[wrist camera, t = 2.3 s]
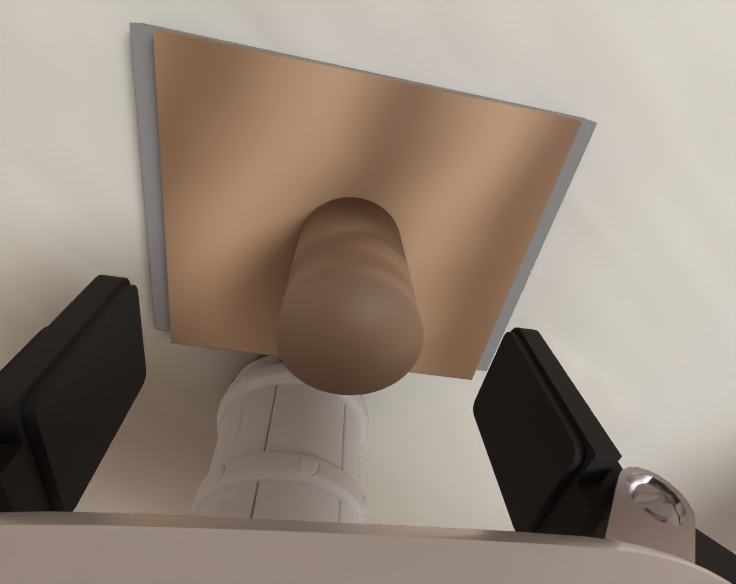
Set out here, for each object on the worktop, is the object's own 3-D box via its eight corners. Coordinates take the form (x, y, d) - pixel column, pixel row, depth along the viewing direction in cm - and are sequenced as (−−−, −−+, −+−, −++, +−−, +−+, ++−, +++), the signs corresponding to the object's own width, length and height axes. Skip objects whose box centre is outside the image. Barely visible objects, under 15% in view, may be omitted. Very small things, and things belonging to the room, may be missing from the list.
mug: (387, 364, 22) (418, 647, 12) (321, 494, 28) (305, 761, 18) (242, 327, 21) (134, 616, 10) (204, 473, 26) (110, 752, 16)
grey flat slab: (584, 118, 16) (597, 123, 15) (481, 358, 22) (486, 371, 21) (142, 23, 14) (129, 22, 13) (163, 316, 20) (155, 329, 19)
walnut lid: (571, 117, 15) (710, 169, 9) (467, 368, 21) (512, 495, 15) (162, 29, 13) (17, 26, 7) (177, 332, 19) (103, 459, 14)
